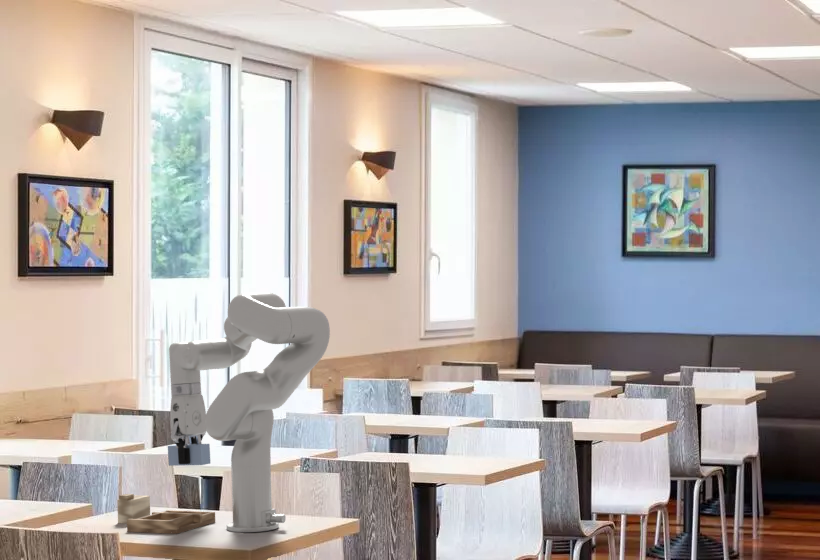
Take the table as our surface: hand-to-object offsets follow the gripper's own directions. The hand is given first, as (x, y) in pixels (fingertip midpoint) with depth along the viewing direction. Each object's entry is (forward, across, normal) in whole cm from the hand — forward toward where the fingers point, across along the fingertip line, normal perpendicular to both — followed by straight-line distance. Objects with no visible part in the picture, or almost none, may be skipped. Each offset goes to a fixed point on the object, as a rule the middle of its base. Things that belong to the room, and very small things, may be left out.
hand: (189, 462), depth 364 cm
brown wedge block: (+14, -5, +15) cm, 21 cm away
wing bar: (+1, 0, 0) cm, 1 cm away
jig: (+15, -10, -1) cm, 18 cm away
